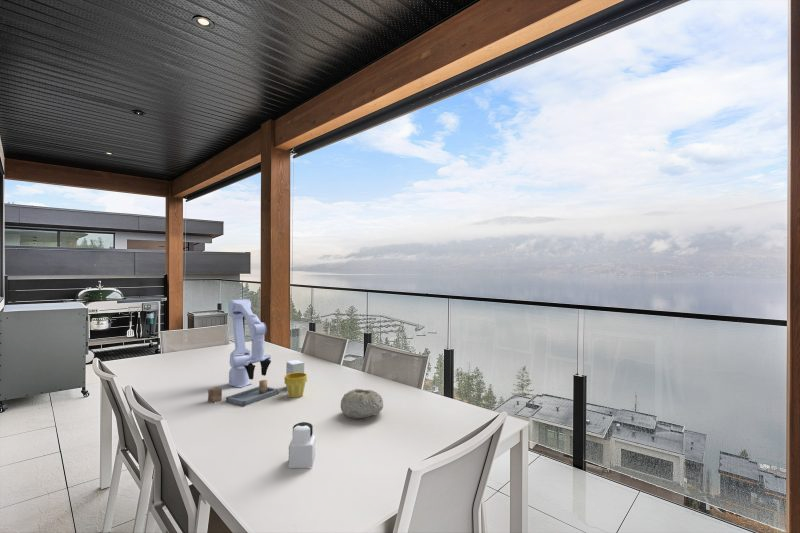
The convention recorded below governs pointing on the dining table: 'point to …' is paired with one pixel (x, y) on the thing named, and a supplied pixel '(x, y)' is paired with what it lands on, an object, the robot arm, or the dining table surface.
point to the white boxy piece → (302, 446)
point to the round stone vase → (361, 403)
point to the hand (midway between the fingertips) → (257, 377)
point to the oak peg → (263, 386)
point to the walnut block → (214, 394)
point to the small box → (294, 367)
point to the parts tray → (251, 396)
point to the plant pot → (295, 384)
